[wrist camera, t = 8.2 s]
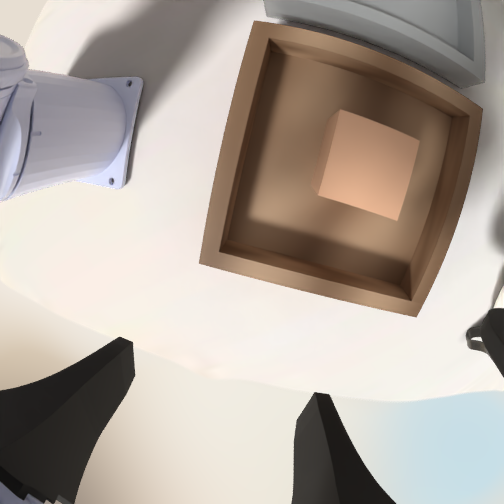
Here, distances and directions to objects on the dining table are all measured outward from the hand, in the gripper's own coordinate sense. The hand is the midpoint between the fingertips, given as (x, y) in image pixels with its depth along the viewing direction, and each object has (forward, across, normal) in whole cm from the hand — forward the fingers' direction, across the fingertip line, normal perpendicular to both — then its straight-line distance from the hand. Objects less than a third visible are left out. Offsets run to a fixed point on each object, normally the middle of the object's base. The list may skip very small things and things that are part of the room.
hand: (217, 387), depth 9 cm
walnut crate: (+10, -4, -8) cm, 14 cm away
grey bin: (+10, -4, -24) cm, 27 cm away
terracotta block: (+9, -4, -9) cm, 13 cm away
